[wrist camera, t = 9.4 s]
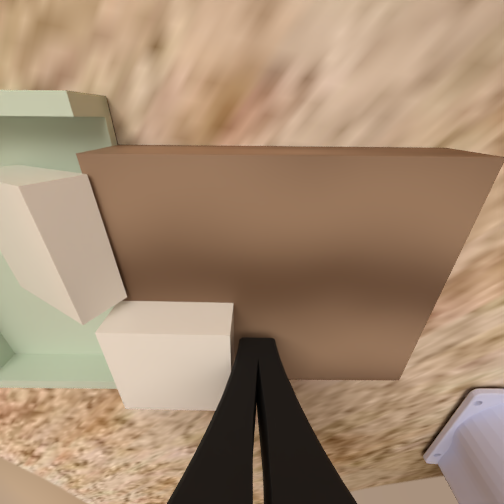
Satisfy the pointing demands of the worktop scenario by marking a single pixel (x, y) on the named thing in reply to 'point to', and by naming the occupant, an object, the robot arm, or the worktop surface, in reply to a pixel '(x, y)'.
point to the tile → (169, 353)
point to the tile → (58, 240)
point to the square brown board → (295, 241)
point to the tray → (3, 280)
